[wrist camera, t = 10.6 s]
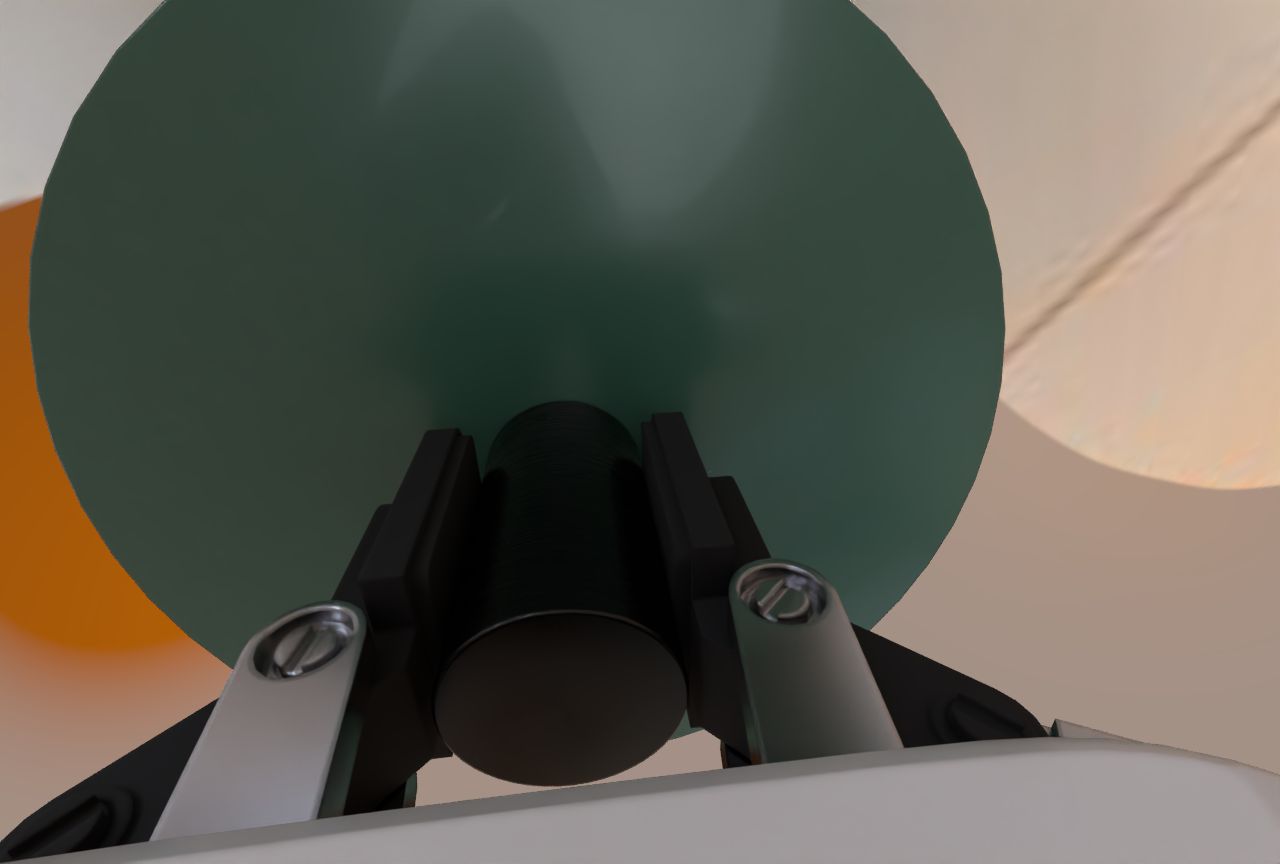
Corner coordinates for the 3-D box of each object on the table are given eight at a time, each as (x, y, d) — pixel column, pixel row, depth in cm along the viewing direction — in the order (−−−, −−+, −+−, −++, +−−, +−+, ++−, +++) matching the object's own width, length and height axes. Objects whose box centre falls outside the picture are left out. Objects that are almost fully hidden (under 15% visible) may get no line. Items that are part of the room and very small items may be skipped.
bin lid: (263, 754, 16) (88, 1116, 10) (-168, -101, 8) (-2309, -761, 2) (893, 682, 18) (1057, 961, 12) (1083, -100, 9) (1947, -479, 4)
